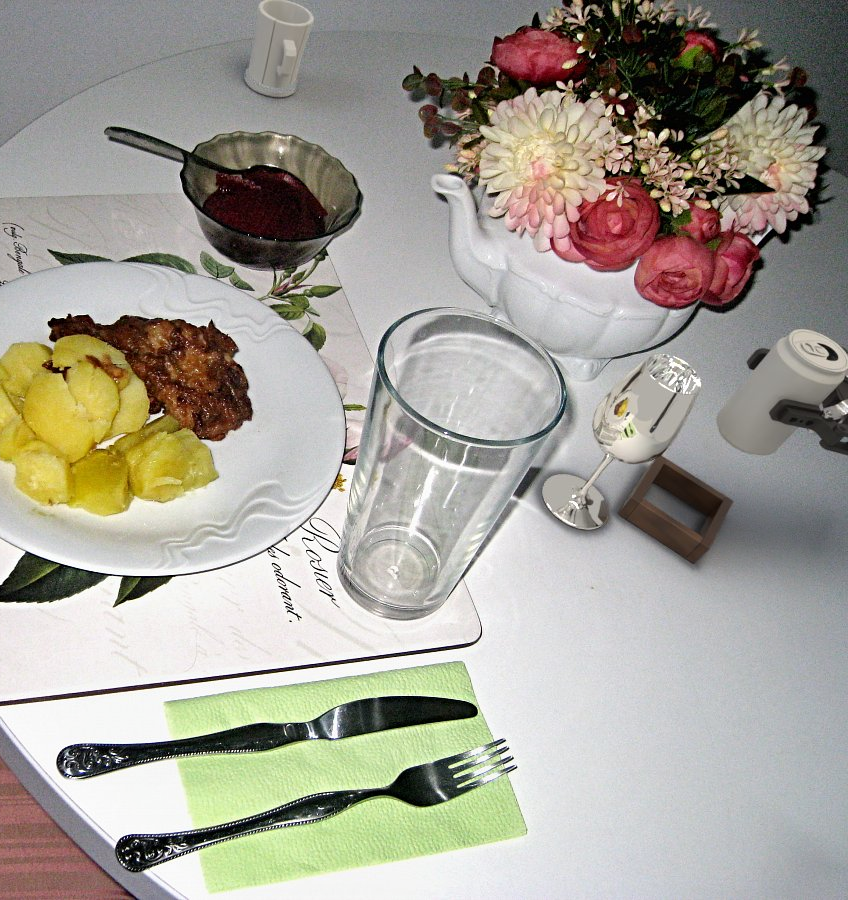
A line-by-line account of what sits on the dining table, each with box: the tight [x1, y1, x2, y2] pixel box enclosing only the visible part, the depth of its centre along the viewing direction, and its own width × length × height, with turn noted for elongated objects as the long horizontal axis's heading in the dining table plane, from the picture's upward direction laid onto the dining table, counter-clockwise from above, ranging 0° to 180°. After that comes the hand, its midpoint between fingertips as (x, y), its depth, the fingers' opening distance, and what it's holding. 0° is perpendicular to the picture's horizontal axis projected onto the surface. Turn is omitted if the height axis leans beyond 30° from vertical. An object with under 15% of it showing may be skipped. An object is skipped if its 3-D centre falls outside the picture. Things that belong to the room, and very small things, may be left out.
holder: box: [617, 454, 734, 565], centre depth 99 cm, size 9×9×3 cm
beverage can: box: [715, 328, 848, 456], centre depth 86 cm, size 6×6×12 cm
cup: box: [243, 0, 315, 98], centre depth 143 cm, size 10×9×12 cm
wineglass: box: [541, 352, 703, 530], centre depth 91 cm, size 8×8×20 cm
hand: (763, 383), depth 85 cm, fingers closed on beverage can, 6 cm apart
